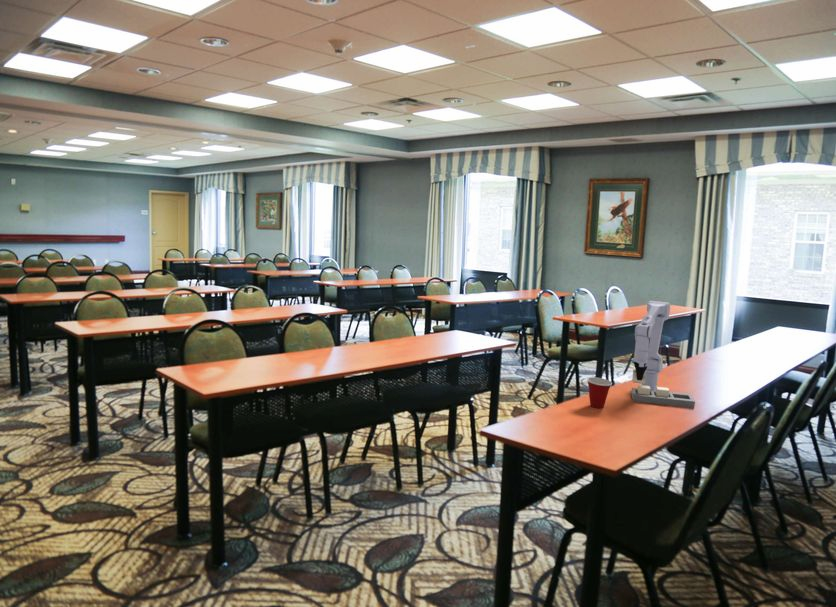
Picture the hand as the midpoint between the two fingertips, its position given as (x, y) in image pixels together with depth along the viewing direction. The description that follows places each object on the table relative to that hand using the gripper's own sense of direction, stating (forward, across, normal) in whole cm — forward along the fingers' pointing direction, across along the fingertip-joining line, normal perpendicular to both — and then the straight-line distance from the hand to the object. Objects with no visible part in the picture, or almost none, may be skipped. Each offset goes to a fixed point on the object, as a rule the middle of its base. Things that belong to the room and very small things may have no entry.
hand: (638, 378), depth 282 cm
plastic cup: (+10, +22, -18) cm, 30 cm away
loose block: (+2, 0, 0) cm, 2 cm away
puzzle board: (+9, 0, +11) cm, 14 cm away
